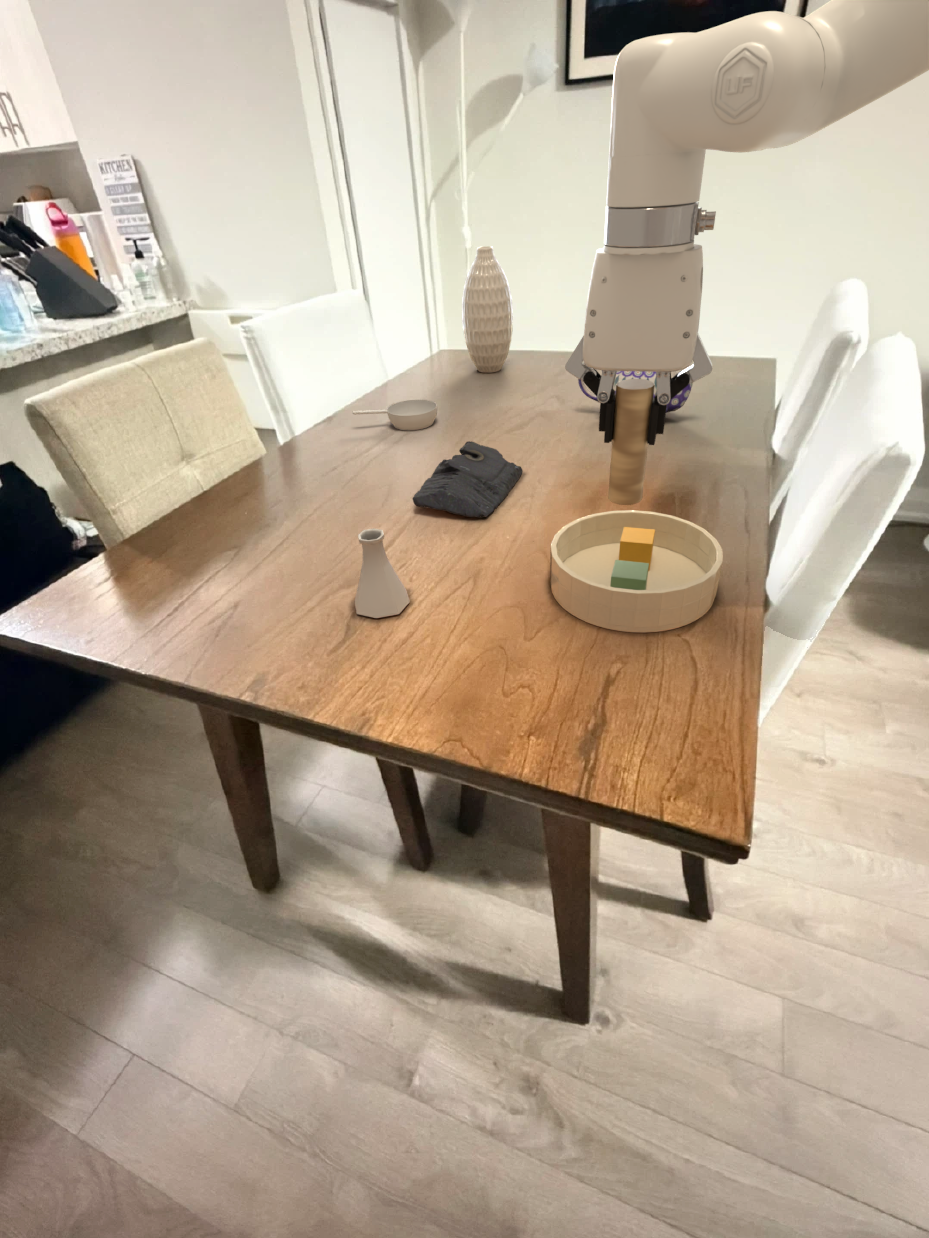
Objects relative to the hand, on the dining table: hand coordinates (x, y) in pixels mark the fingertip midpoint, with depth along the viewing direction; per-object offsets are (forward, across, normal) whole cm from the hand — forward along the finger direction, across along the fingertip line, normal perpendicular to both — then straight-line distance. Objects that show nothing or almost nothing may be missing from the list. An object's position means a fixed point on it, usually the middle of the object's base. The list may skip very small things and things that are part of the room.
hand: (630, 437), depth 65 cm
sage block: (+21, -1, -2) cm, 21 cm away
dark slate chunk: (+22, +28, -30) cm, 47 cm away
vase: (+22, +44, -104) cm, 115 cm away
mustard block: (+21, -1, -11) cm, 23 cm away
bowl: (+22, -1, -6) cm, 22 cm away
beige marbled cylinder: (+7, 0, 0) cm, 7 cm away
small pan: (+22, +53, -60) cm, 83 cm away
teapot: (+22, +4, -70) cm, 74 cm away
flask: (+22, +29, +4) cm, 36 cm away
